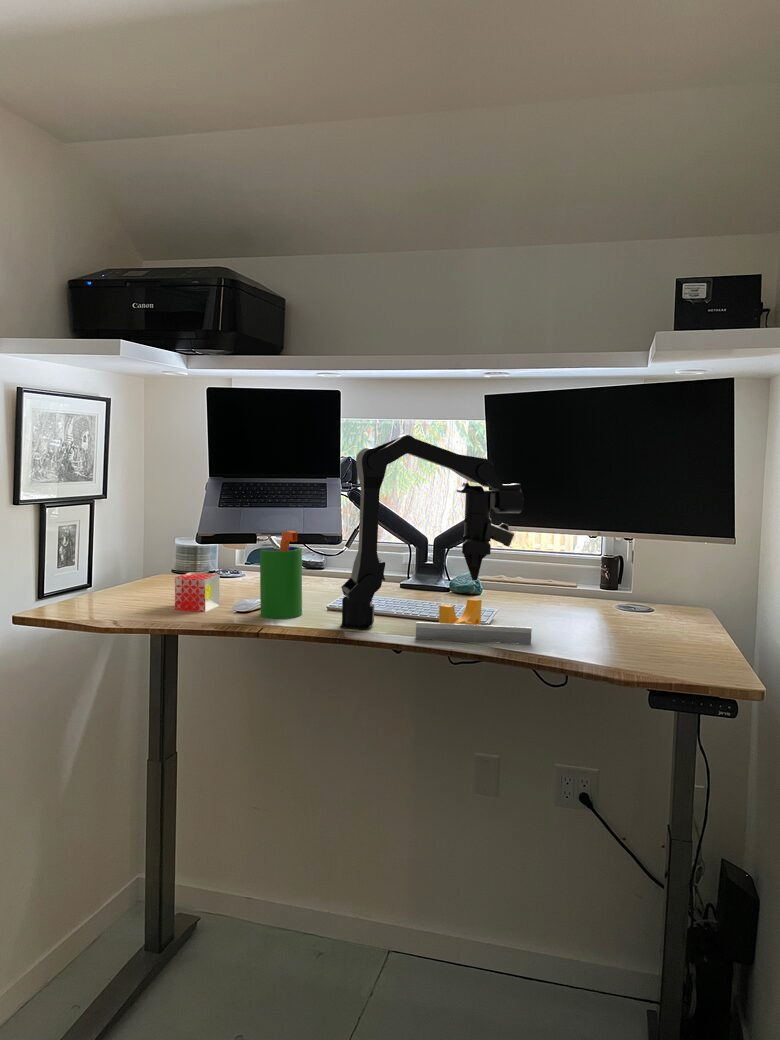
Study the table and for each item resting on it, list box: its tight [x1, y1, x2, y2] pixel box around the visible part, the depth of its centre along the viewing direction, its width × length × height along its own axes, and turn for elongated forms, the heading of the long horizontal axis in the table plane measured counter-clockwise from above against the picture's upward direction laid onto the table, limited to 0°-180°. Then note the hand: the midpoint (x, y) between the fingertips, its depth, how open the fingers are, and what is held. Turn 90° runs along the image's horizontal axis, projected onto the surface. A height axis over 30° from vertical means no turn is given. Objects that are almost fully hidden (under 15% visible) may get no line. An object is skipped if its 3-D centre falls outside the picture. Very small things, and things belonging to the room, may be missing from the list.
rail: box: [415, 621, 533, 645], centre depth 167 cm, size 24×2×4 cm, turn 83°
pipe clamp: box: [438, 597, 483, 625], centre depth 175 cm, size 12×4×6 cm, turn 138°
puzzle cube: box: [174, 571, 221, 613], centre depth 193 cm, size 8×8×8 cm
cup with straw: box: [259, 530, 303, 620], centre depth 187 cm, size 10×9×20 cm
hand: (474, 580), depth 184 cm, fingers closed
